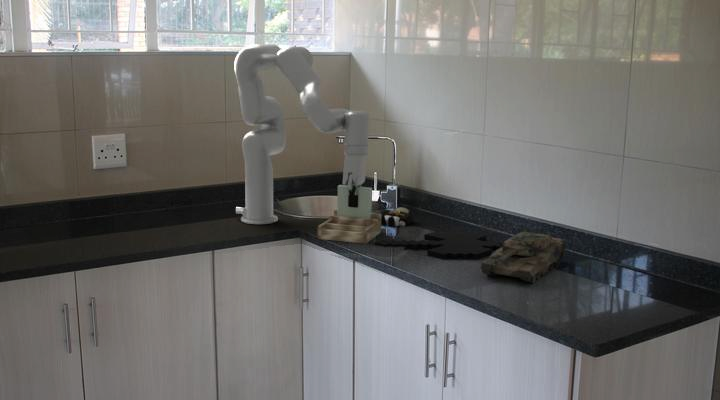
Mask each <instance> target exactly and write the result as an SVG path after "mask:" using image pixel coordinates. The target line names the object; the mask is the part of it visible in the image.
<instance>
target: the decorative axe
mask: <svg viewBox="0 0 720 400" xmlns="http://www.w3.org/2000/svg"><path fill="white" fill-rule="evenodd" d="M487 237H488V236H487V235H483V234H480V233H474V232H470V231H457V230H456V231H447V230H446V231H433V232H432V231H431V232H429V233H425V234H424V239H422V240H415V239H413V240H405V239H401V240H395V239H392V240H386V239H381V240H378V241H374V245H375V246H378V247H382V248H387V247H393V248H398V247H403V248H404V249H403V251H408V250H412V251H418V250H420V251H427V254H426V255H427V257H431V258H433V259H439V260H445V261H447V260H449V259H450V260H453V261H456V260H464V261H467V260H473V261H477V260H480V259H484V258H487V257H490V256H491V255H492V254H493V252H495V251H496V250H498V249H499V248H501V247H503V242H499V241H495V240H488V241H487Z"/></svg>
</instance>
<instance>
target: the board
mask: <svg viewBox="0 0 720 400" xmlns="http://www.w3.org/2000/svg"><path fill="white" fill-rule="evenodd" d="M347 186H348V184H347V185H343V184H339V185H337V201H336V206H337V207H336V208H337V209H336V210H337V216H345V217H359V218H366V219H371V213H372V209H373V208H372V207H373V206H372V205H373V204H372V203H373V187H367V186H361V187H358V190H357V195H358V207H357V208H355V207H348V190H347ZM354 189H355V188H354Z"/></svg>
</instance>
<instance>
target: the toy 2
mask: <svg viewBox="0 0 720 400" xmlns="http://www.w3.org/2000/svg"><path fill="white" fill-rule="evenodd" d="M502 245H503V247H501V248H499V249H498V250H496V251H493V252H492V255H490V256H489V258H487V259H485V260H483V262H481V265H480V270H481V272H482V273H483V274H485V275H486V276H492V277H498V276H499V275H501V276H508V277H513V278H517V279H520V280H522V281H524V282H525V283H529V284H535V283H536V282H538V281H539V280H541V279H542V278H544V277H546V276H547V275H549V274H550V273H551V272H553V271H554V270H555V269H557V268H559V266H560V264H561V262H562V259H563V257H564V251H566V249H567V239H564V238H558V237H553V235H552V234H546V233H540V232H533V231H526V230H525V231H521V232H519V233H517V234H514V235H513V236H511V237H509V238H508V239H506V240H504V242H503V243H502Z"/></svg>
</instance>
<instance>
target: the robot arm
mask: <svg viewBox="0 0 720 400" xmlns="http://www.w3.org/2000/svg"><path fill="white" fill-rule="evenodd" d="M313 63H314V56H313V55H312V53H311V51H310V50H308V48H306V47H303V46H293V45H284V44H274V43H273V44H270V43H269V44H264V43H262V44H261V43H259V44H258V43H257V44H255V43H254V44H250V45H247V46H245V47H243V48H242V49H240V50H239V52H238V54H236V57H235V59H234V64H233V65H234V67H233V69H234V74H235V78H236V83H237V88H238V96H239V102H240V103H239V104H240V111H241V115H242V116H241V117H242V120H243V122H244V123H245V124H246V125H248V126H250V127H251V126H252V127H254V126H260V129H253V130H251V131H249V132H247V133H246V134H245V135H244V137H243V138H242V141H241V149H242V154H243V159H244V180H245V181H244V182H245V184H244V186H245V187H244V189H245V190H244V191H245V192H244V193H245V200H244V201H245V206H244V207H240V206H236V207H235V214H241V215H242V216H241V217H240V221H241V222H242V223H244V224H248V225H268V224H274V223H277V222H278V220H279V219H278V216H277V215H274V169H273V163H272V161H271V158H270V156H275V155H278V154H280V153H282V152H283V151H284V150H285V148H286V146H287V134H286V126H285V120H284V119H285V118H284V113H283V107H282V106H281V104H280V102H279V101H278V100H277V98H275V97H273V96H270V95H269V96H268V95H267V96H266V94H265V88H264V87H265V86H264V82H263V79H262V78H261V76H260V74H259V71H268V70H270V71H272V70H278V71H280V72H281V73H282V74H283V76H284V77H285V78H286V79H287V81H288V82H289V84H290V85H291V86H292V87H293V89H294V90H295V91H296V92H297V94H298V96H299V100H300V105H301V108H302V111H303V113H304V115H305V117H307V119H308V120H309V121H310V123H312V125H313V127H314V128H315V129H316V130H317V131H319V132H320V133H322V134H327V135H328V134H333V133H340V132H344V146H343V147H344V149H343V150H344V151H343V154H344V155H345V157H344V162H343V163H344V164H343V173H342V176H343V177H342V185H347V190H348V207H355V208H357V207H358V195H357V190H358V187H362V185H363V184H364V183H365V181H366V175H367V174H366V172H367V170H366V169H367V168H366V166H367V164H366V163H367V162H366V161H367V160H366V156H368V154H369V129H370V127H369V126H370V115H369V113H368V112H367V111H365V110H351V109H346V108H343V107H342V108H340V107H339V108H330V109H329V108H328V107H327V105H325V103H324V102H323V100H322V99H321V97H320V95H319V91H318V88H319V87H320V85H321V78H320V77H319V76H318V74H317V73H316V72H315V70H314V69H313V68H312V66H313ZM354 188H355V189H354Z"/></svg>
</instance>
